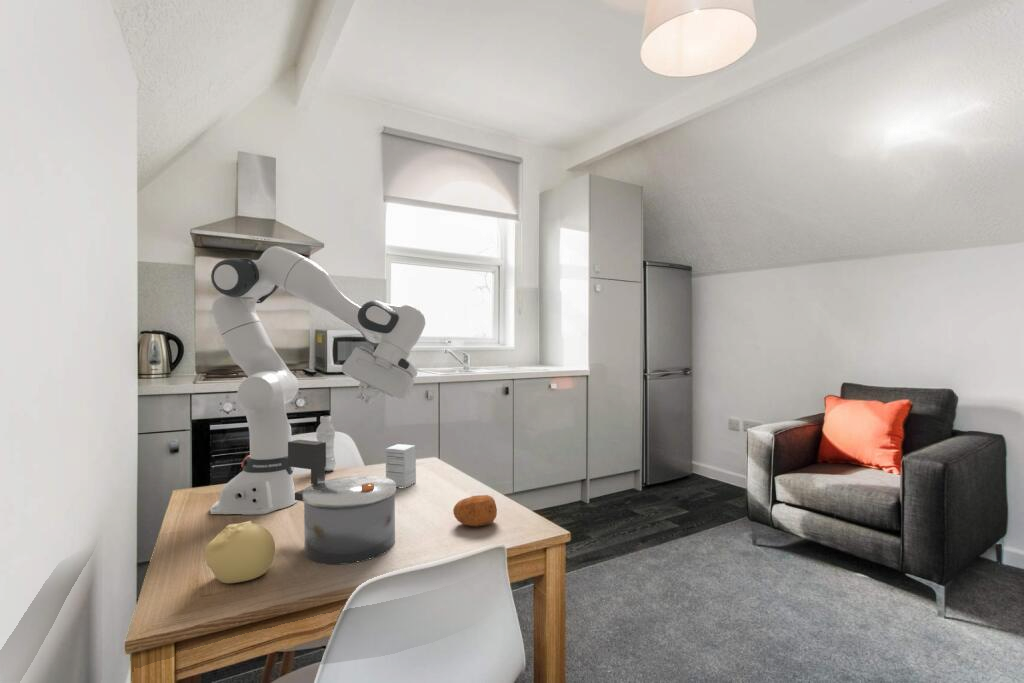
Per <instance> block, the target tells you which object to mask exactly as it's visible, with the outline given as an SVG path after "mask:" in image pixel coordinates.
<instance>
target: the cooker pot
mask: <svg viewBox="0 0 1024 683" xmlns="http://www.w3.org/2000/svg"><path fill="white" fill-rule="evenodd" d="M305 489H306V488H305ZM305 489H301V490H298V491H296V492H295V500H298V501H299V502H303V504H304V505H303V507H304V508H303V509H304V510H303V514H304V517H303V518H304V520H303V524H304V528H303V529H304V555H305V557H306V558H307V559H308V560H310V561H312V562H315V563H317V562H318V564H322V563H325V564H324V565H342V564H341V563H350V564H353V563H352V562H356V563H358V562H357V561H361V562H363V561H362V560H365V561H367V560H366V559H369V558H372V557H375V558H377V557H379V556H378V555H380V554H382V553H384V552H385V553H387V552H388V551H389V549H390V548H391V547H392V546H393V547H394V545H395V544H396V543H395V542H396V513H395V512H396V498H395V497H396V496H395V495H396V492H395V493H394V494H393V495H391V496H390V497H388V498H386V499H384V500H381V501H378V502H374V503H371V504H366V505H361V506H354V507H342V508H326V507H317V506H312V505H309V504H307V503H305V502H304V501H303V491H304V490H305ZM298 501H297V502H298ZM393 547H392V548H393ZM392 548H391V549H392ZM391 549H390V550H391ZM387 550H388V551H387ZM386 551H387V552H386ZM385 553H384V554H385ZM382 555H383V554H382ZM376 556H377V557H376ZM380 556H381V555H380ZM372 559H373V558H372ZM369 560H370V559H369Z"/></svg>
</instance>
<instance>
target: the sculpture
mask: <svg viewBox="0 0 1024 683" xmlns="http://www.w3.org/2000/svg"><path fill="white" fill-rule="evenodd" d="M204 553H205V554H204V555H205V563H206V566H207V567H208V568H209V569H210V570H211V572H212V574H213V576H214V577H215V578H216V579H217V580H218V581H220V582H221V583H223V584H235V583H242V582H243V583H244V582H248V581H252V580H254V579H257V578H258V577H261V576H262V575H264V574H266V573H267V572H268V570H269V568H270V567H271V565H272V563H273V561H274V557H275V555H276V554H275V553H276V542H275V539H274V536H273V535H272V533H271V532H270V530H268V528H266V527H264V526H262V525H260V524H256V523H253V522H252V520H247V521H242V522H240V523H232V524H231V523H230V524H227V526H225V528H224V529H222V530H221V531H220V532H219V533H218V534H217V535H216V536H215V537H214V538H213V539H212V540H210V542H209V543H207V545H206V546H205V549H204Z"/></svg>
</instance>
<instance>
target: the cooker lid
mask: <svg viewBox="0 0 1024 683" xmlns="http://www.w3.org/2000/svg"><path fill="white" fill-rule="evenodd" d="M288 467H294V468H296V469H305V470H310V485H309V486H307V487H305V490H304V489H303V490H304V491H303V501H304V502H305V503H307V504H309V505H312V506H317V507H326V508H342V507H354V506H361V505H366V504H371V503H374V502H378V501H381V500H384V499H386V498H388V497H390V496H391V495H393V494H394V493H395V494H396V492H397V488H396V483H395V482H394V481H393V480H391V479H389V478H386V476H385V477H384V476H378V475H350V476H349V475H347V476H342V477H334V478H330V479H326V478H325V477H326V474H325V473H326V472H325V467H326V442H318V441H317V440H307V439H306V440H305V439H295V440H292V441H290V442H288ZM303 501H302V502H303ZM304 502H303V503H304Z"/></svg>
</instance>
